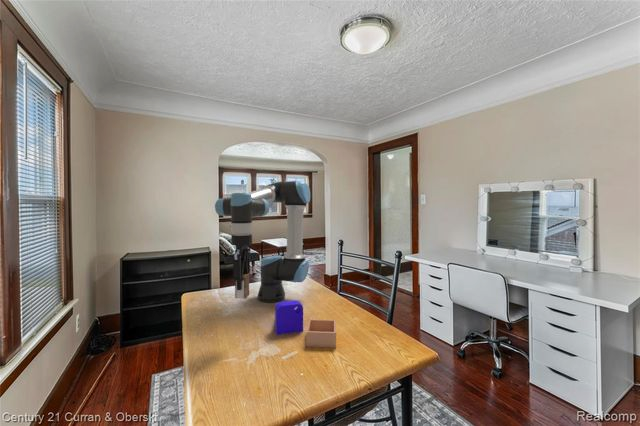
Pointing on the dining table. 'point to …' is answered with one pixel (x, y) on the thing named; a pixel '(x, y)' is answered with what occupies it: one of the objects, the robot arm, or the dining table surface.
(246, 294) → the walnut post
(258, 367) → the dining table surface
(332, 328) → the planter
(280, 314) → the bracket
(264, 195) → the robot arm
